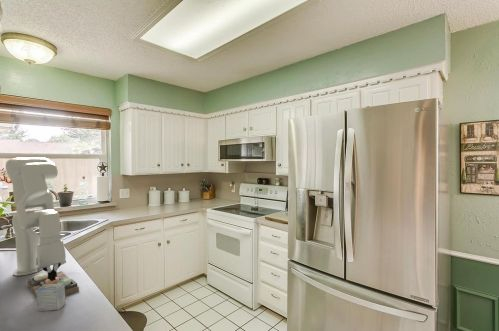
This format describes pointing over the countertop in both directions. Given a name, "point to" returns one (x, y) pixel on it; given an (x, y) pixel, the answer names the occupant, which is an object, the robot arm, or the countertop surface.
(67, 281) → the sage button
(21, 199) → the robot arm
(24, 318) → the countertop surface
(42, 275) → the cream button
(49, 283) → the terracotta button
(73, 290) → the button panel
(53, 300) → the medicine box
